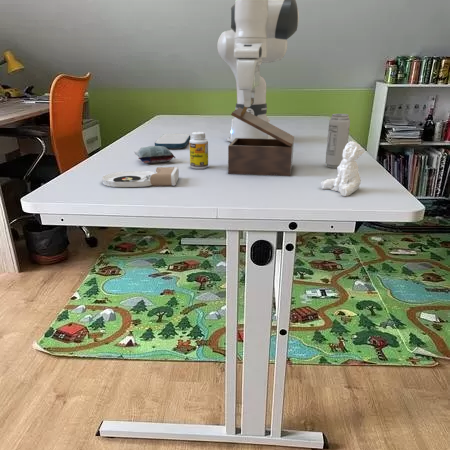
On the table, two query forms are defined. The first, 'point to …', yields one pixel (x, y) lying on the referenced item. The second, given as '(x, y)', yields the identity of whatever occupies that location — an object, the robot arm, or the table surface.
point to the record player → (143, 178)
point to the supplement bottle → (198, 151)
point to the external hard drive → (173, 140)
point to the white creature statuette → (346, 171)
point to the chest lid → (263, 125)
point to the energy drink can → (337, 139)
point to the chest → (259, 157)
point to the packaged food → (154, 154)
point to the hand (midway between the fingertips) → (249, 105)
